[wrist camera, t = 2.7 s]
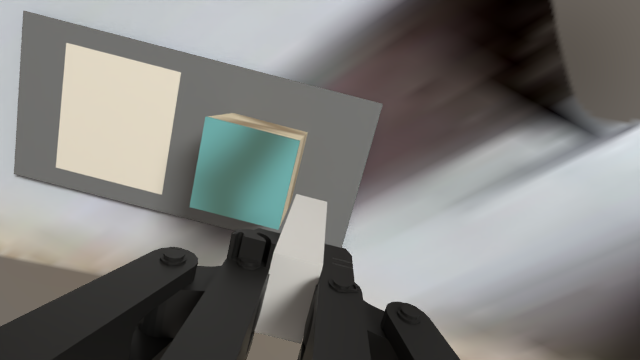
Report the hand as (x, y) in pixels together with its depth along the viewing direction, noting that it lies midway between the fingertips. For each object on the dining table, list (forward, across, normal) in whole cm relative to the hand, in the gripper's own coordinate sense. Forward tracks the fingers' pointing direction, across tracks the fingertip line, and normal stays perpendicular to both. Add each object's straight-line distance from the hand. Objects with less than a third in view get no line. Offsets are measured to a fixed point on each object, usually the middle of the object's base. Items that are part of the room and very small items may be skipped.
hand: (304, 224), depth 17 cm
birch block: (+12, +4, 0) cm, 13 cm away
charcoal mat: (+13, +10, 0) cm, 17 cm away
